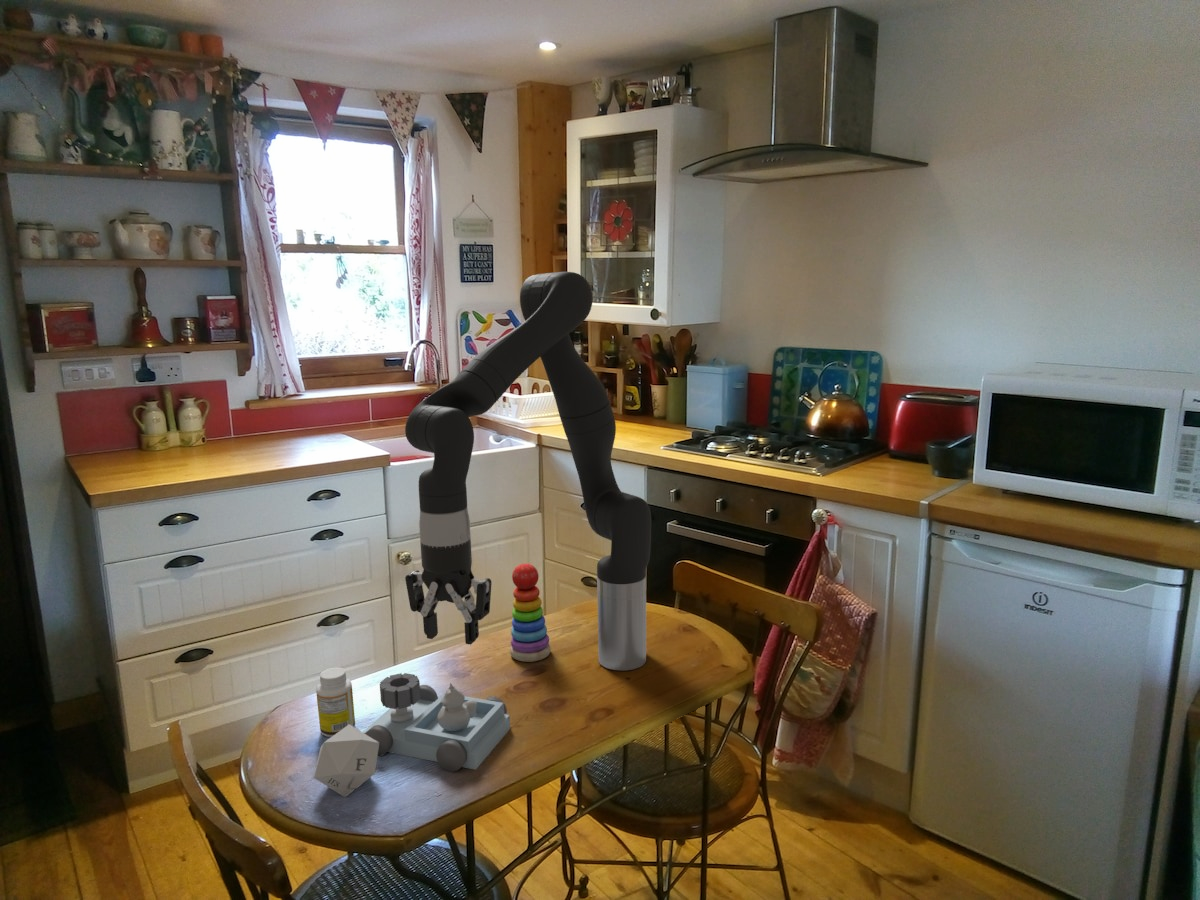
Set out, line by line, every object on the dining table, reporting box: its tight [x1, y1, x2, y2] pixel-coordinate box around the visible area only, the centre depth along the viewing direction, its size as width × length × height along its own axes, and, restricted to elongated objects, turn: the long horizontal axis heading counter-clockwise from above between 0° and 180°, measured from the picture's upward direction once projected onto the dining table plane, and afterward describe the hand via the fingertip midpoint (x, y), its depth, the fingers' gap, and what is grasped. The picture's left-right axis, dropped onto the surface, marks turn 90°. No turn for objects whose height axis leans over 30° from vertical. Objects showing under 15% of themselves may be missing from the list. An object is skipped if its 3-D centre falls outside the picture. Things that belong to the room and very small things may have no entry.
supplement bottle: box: [315, 667, 356, 738], centre depth 134 cm, size 6×6×10 cm
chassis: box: [362, 684, 511, 773], centre depth 131 cm, size 15×20×6 cm
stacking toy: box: [509, 563, 552, 663], centre depth 159 cm, size 8×8×19 cm
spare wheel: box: [379, 672, 421, 709], centre depth 133 cm, size 6×6×3 cm
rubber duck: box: [437, 682, 477, 732], centre depth 129 cm, size 5×7×8 cm
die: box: [313, 724, 379, 798], centre depth 119 cm, size 8×9×10 cm
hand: (451, 639), depth 127 cm, fingers open, 6 cm apart
